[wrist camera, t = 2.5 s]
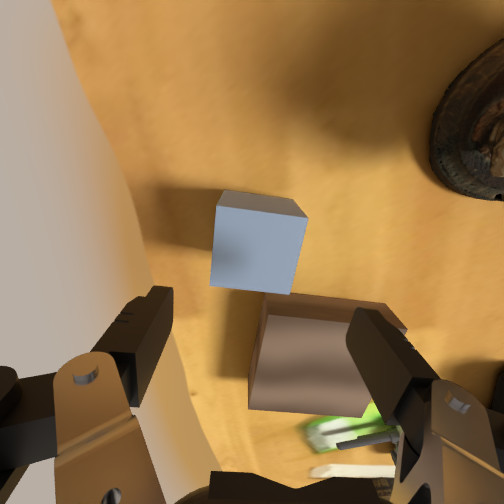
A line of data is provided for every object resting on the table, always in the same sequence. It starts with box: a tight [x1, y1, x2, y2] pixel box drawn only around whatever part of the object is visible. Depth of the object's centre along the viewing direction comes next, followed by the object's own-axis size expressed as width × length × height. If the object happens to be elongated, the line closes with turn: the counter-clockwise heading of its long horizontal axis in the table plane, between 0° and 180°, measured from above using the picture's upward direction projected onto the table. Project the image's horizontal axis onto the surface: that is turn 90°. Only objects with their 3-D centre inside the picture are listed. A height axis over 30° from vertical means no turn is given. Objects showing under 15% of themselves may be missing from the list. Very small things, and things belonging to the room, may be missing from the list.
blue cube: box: [210, 190, 308, 295], centre depth 18 cm, size 6×6×6 cm
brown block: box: [248, 292, 408, 418], centre depth 24 cm, size 12×12×4 cm
